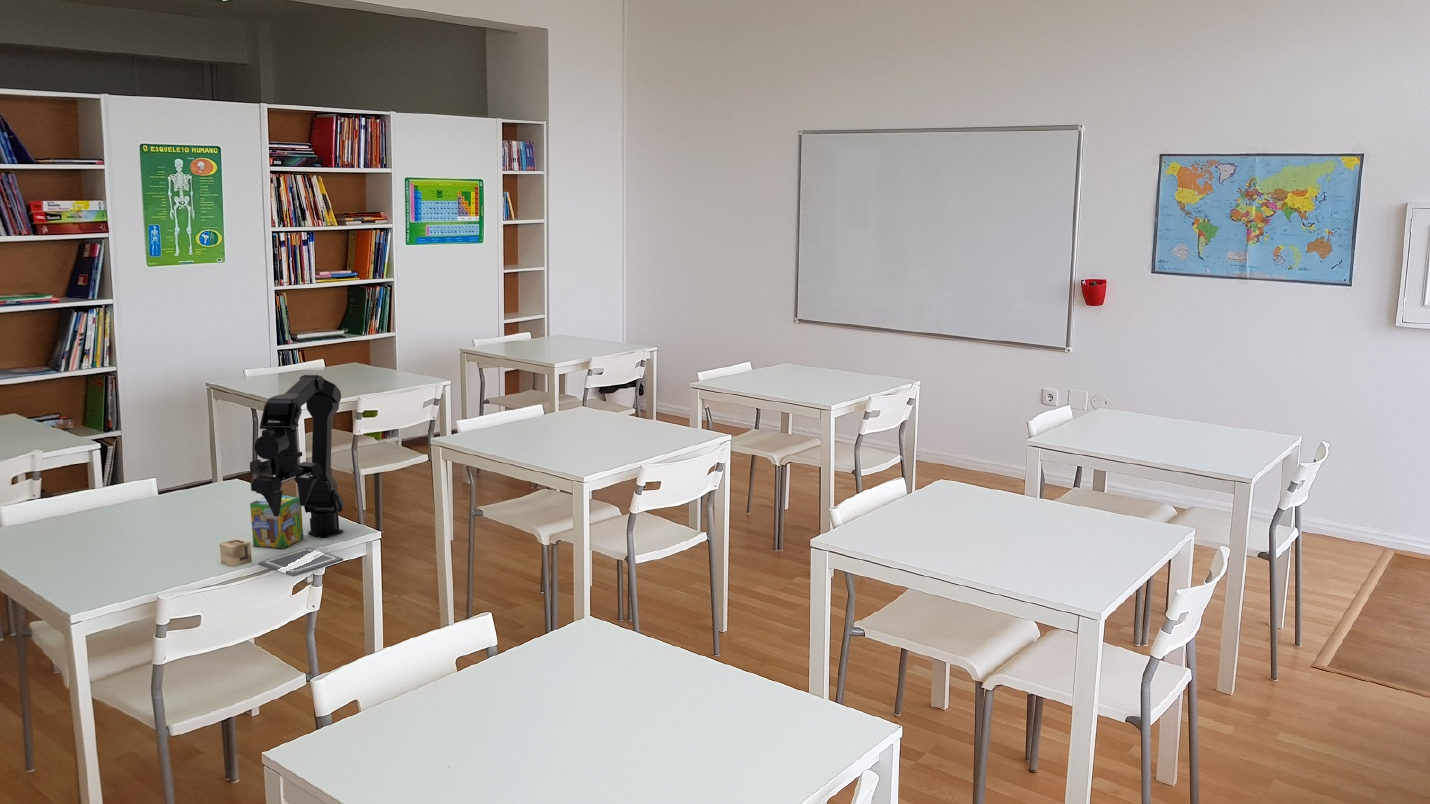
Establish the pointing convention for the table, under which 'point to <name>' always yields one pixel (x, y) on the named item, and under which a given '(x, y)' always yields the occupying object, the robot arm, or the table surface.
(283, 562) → the slate pad
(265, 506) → the chalk box
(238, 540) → the letter cube
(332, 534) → the robot arm
